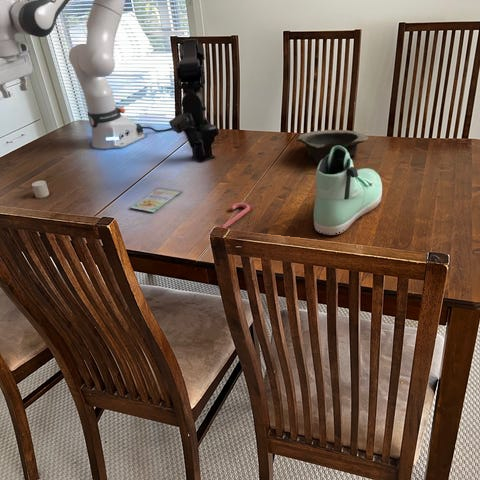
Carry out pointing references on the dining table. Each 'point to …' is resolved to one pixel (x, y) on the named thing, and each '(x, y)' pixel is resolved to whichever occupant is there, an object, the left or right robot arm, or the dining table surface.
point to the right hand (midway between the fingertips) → (199, 151)
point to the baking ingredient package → (155, 200)
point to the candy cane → (239, 215)
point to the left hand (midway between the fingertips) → (16, 93)
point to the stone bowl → (331, 142)
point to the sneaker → (343, 192)
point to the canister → (40, 189)
